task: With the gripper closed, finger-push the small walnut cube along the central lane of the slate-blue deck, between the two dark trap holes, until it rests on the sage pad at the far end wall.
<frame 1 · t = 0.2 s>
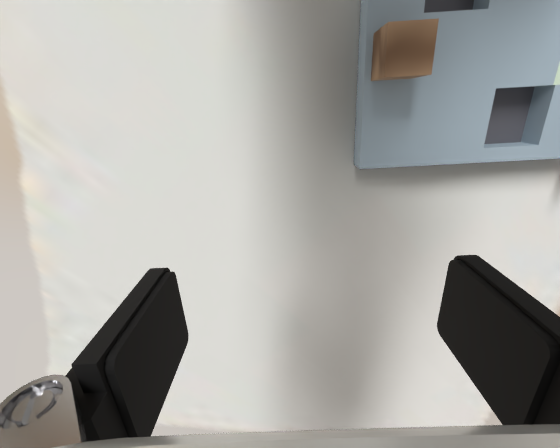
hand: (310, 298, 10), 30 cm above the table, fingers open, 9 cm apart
walnut cube: (393, 56, 31), point 3 cm above the table, touching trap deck
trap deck: (479, 54, 33), on the table
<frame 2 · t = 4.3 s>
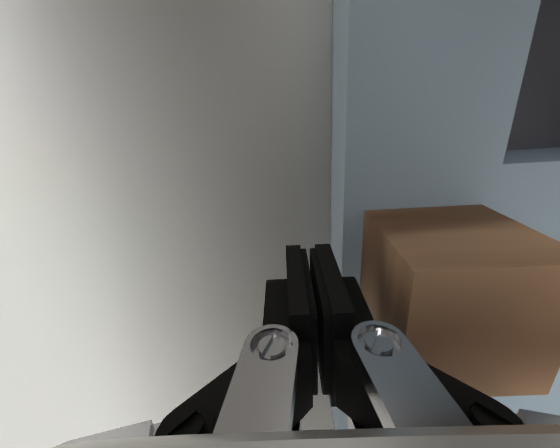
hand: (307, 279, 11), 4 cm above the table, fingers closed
walnut cube: (415, 258, 12), point 3 cm above the table, touching gripper
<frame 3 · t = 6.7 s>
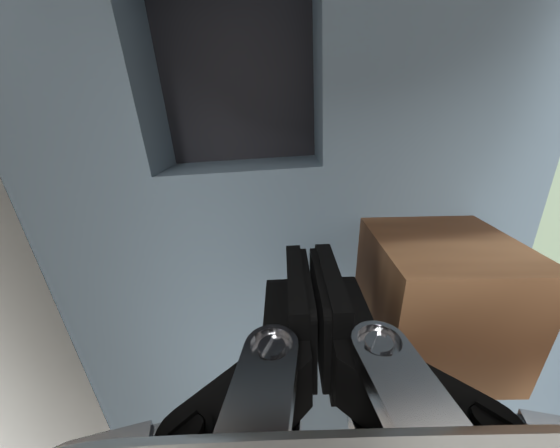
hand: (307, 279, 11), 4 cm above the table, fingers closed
walnut cube: (408, 265, 12), point 3 cm above the table, touching gripper
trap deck: (349, 225, 15), on the table
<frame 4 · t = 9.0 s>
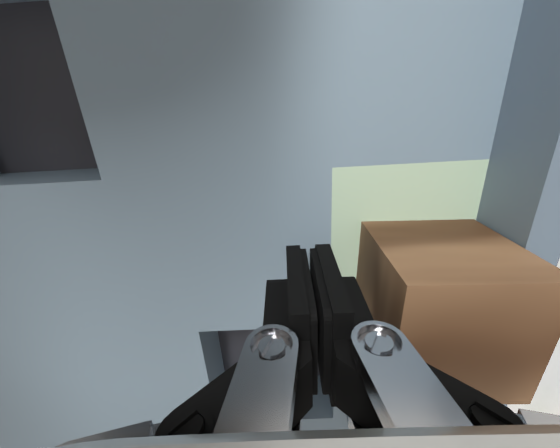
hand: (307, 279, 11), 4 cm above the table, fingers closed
walnut cube: (409, 268, 12), point 3 cm above the table, touching gripper, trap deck
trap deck: (187, 235, 15), on the table
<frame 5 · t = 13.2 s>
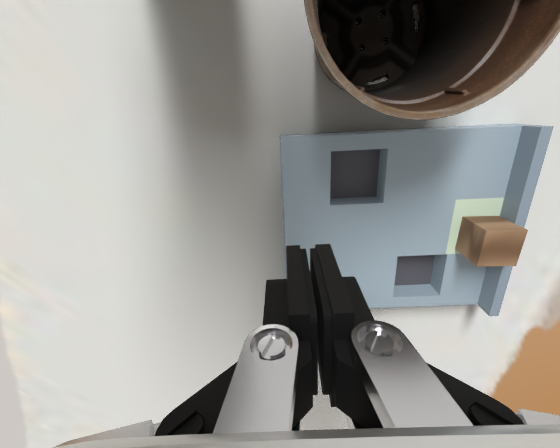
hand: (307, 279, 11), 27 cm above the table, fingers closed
walnut cube: (476, 232, 37), point 3 cm above the table, touching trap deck
plant pot: (367, 35, 31), on the table
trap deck: (386, 221, 39), on the table
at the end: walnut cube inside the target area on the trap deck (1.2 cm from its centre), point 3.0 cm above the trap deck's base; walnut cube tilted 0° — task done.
